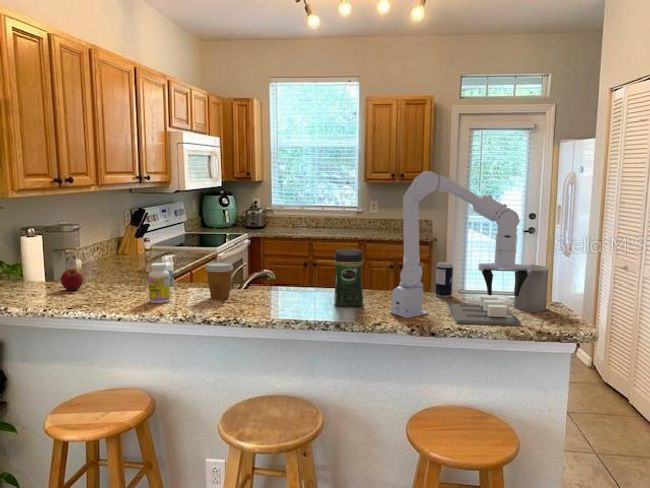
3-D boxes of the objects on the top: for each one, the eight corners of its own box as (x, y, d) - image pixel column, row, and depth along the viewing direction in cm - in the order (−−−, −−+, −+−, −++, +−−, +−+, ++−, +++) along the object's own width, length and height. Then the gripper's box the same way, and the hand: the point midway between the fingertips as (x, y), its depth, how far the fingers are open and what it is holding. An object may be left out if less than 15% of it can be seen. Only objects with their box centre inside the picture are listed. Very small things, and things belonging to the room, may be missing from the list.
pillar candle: (519, 303, 167) (521, 259, 165) (550, 307, 161) (552, 262, 158) (509, 309, 159) (511, 263, 157) (541, 314, 153) (543, 267, 151)
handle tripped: (489, 316, 146) (489, 306, 145) (487, 314, 148) (487, 304, 147) (506, 317, 145) (507, 307, 145) (504, 314, 147) (505, 305, 147)
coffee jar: (362, 301, 167) (363, 247, 164) (363, 307, 159) (364, 251, 156) (333, 301, 167) (334, 247, 165) (333, 307, 159) (334, 251, 157)
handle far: (480, 306, 157) (481, 297, 157) (479, 304, 160) (479, 295, 159) (497, 306, 157) (497, 297, 156) (495, 304, 159) (495, 295, 159)
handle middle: (484, 311, 151) (485, 301, 151) (483, 309, 154) (483, 299, 153) (501, 311, 151) (502, 302, 150) (499, 309, 153) (500, 300, 153)
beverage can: (452, 298, 172) (453, 264, 171) (435, 297, 174) (436, 264, 172) (451, 294, 178) (452, 262, 176) (435, 294, 179) (436, 261, 178)
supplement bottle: (145, 302, 164) (143, 264, 162) (158, 298, 170) (157, 261, 168) (161, 304, 161) (159, 266, 160) (174, 300, 167) (173, 263, 166)
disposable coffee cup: (239, 296, 173) (238, 263, 171) (220, 302, 165) (219, 267, 163) (219, 293, 178) (219, 260, 176) (200, 298, 170) (199, 264, 168)
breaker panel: (456, 323, 143) (456, 319, 142) (447, 306, 161) (448, 303, 161) (520, 325, 141) (520, 322, 140) (504, 308, 159) (504, 305, 159)
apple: (56, 292, 178) (54, 270, 177) (71, 287, 186) (69, 266, 185) (75, 293, 176) (73, 271, 175) (89, 288, 184) (88, 267, 183)
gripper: (482, 251, 141) (480, 297, 142) (535, 252, 139) (532, 299, 141) (478, 247, 147) (475, 291, 149) (528, 249, 146) (525, 293, 148)
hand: (502, 295), depth 145 cm, fingers open, 7 cm apart
